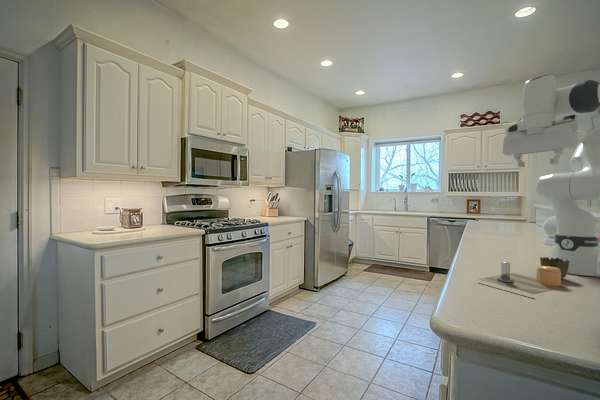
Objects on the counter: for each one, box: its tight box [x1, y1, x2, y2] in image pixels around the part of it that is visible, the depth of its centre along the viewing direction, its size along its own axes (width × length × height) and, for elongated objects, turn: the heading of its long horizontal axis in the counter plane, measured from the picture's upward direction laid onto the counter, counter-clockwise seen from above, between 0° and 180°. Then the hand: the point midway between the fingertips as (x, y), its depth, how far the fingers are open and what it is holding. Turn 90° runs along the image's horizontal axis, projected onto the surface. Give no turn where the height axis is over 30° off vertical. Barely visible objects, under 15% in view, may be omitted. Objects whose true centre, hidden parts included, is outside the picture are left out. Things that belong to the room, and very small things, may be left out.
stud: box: [497, 261, 514, 283], centre depth 92 cm, size 4×4×6 cm
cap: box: [535, 265, 562, 286], centre depth 90 cm, size 5×5×5 cm
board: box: [477, 272, 571, 300], centre depth 91 cm, size 20×16×2 cm
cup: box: [539, 256, 569, 280], centre depth 97 cm, size 8×7×8 cm
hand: (536, 165), depth 96 cm, fingers open, 8 cm apart
